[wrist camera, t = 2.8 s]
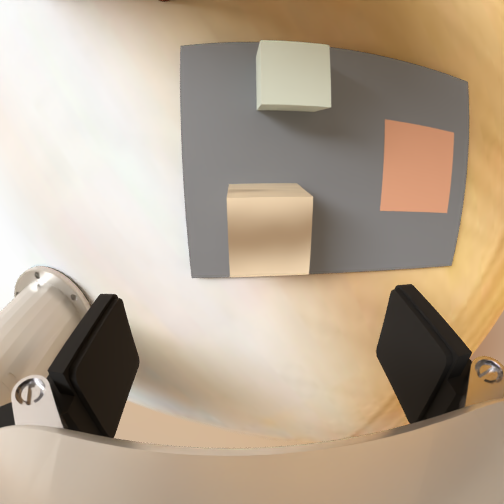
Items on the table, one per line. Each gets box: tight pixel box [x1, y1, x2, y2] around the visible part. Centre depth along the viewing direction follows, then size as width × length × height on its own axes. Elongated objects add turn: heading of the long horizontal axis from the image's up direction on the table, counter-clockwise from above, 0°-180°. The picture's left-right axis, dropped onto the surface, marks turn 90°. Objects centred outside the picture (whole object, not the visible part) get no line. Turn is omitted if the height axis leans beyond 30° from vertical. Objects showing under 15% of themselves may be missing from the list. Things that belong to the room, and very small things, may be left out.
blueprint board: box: [180, 42, 469, 278], centre depth 26 cm, size 22×30×1 cm
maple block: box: [227, 183, 313, 277], centre depth 24 cm, size 6×6×6 cm
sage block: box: [256, 40, 331, 112], centre depth 20 cm, size 5×5×5 cm
